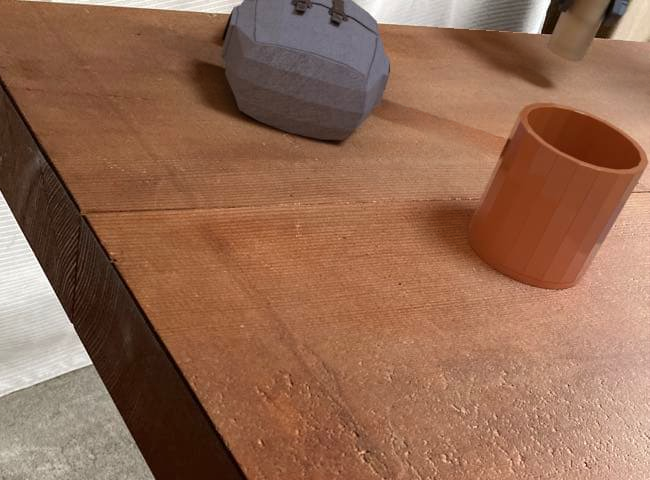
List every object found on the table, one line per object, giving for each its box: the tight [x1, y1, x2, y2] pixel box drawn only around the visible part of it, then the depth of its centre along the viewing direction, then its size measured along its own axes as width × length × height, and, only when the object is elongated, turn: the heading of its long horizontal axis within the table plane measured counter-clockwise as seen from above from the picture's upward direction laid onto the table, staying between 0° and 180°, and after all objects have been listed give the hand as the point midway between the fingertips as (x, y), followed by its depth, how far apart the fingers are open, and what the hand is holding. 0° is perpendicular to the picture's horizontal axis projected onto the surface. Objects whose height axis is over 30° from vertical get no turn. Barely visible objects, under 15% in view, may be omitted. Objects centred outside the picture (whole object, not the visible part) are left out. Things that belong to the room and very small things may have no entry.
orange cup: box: [466, 102, 649, 290], centre depth 77 cm, size 10×10×10 cm
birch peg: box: [546, 0, 612, 62], centre depth 97 cm, size 4×4×8 cm
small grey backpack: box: [220, 0, 391, 141], centre depth 88 cm, size 15×8×20 cm
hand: (587, 14), depth 95 cm, fingers closed on birch peg, 4 cm apart
